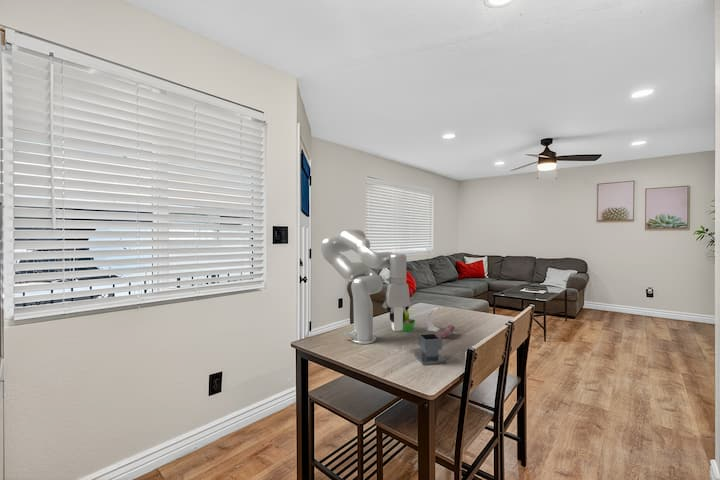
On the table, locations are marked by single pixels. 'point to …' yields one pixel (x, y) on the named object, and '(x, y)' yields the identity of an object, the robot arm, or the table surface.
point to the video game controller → (447, 331)
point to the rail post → (398, 319)
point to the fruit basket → (408, 323)
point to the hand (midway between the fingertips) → (397, 320)
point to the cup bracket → (430, 349)
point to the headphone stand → (428, 321)
